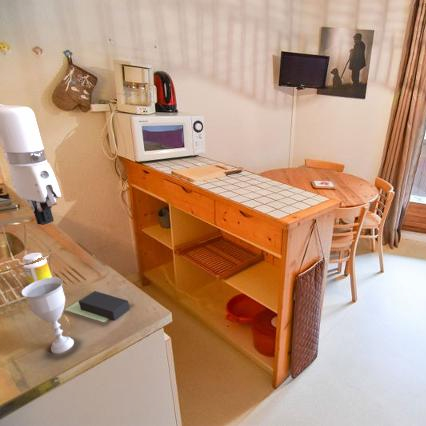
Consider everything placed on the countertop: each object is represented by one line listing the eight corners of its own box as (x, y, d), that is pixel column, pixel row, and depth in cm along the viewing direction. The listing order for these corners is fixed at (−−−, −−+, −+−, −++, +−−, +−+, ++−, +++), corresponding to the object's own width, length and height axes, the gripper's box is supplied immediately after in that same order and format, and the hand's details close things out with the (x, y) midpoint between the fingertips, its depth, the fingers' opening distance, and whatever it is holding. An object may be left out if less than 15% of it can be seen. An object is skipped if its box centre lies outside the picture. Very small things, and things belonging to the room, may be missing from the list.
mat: (64, 311, 88) (64, 309, 88) (91, 294, 96) (90, 293, 95) (104, 323, 85) (104, 322, 85) (128, 305, 92) (128, 304, 92)
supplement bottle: (56, 277, 102) (47, 250, 98) (48, 288, 97) (39, 259, 93) (34, 280, 100) (25, 252, 96) (26, 290, 95) (15, 261, 91)
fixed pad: (97, 315, 87) (95, 306, 86) (113, 304, 92) (111, 295, 90) (114, 320, 86) (112, 311, 85) (129, 309, 90) (128, 300, 89)
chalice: (61, 362, 73) (40, 299, 66) (36, 356, 74) (12, 294, 67) (88, 339, 80) (71, 279, 73) (64, 334, 81) (45, 275, 74)
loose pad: (80, 309, 89) (78, 301, 87) (97, 299, 93) (94, 290, 92) (97, 315, 87) (95, 306, 86) (113, 304, 92) (111, 295, 90)
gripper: (63, 158, 82) (79, 222, 89) (21, 151, 85) (40, 213, 92) (32, 164, 75) (52, 233, 82) (-13, 156, 79) (10, 223, 86)
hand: (45, 222), depth 87 cm, fingers closed
